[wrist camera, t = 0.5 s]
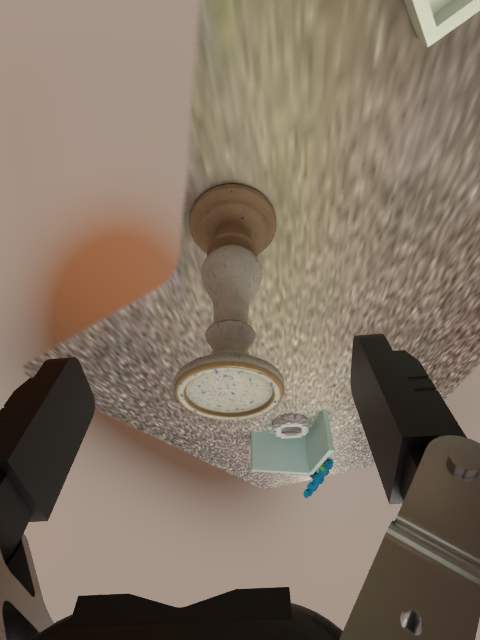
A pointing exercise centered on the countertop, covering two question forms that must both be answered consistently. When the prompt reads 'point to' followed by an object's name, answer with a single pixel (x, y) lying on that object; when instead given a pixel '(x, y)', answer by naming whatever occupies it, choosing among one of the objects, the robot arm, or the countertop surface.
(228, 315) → the candle holder
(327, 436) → the right angle wall
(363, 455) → the countertop surface
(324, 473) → the teal irregular piece
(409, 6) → the tray
